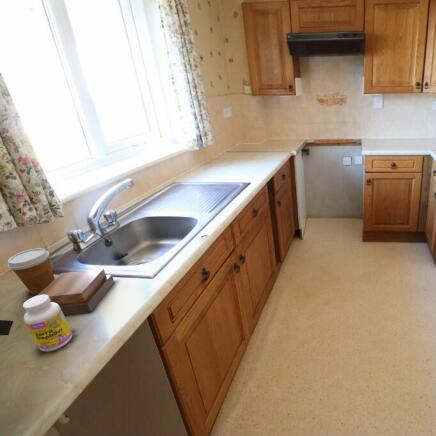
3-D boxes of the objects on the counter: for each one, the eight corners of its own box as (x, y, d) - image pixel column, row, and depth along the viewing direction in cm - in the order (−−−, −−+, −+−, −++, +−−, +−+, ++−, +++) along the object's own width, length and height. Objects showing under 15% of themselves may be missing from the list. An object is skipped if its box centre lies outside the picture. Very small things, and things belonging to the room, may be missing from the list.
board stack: (36, 318, 88) (27, 301, 85) (67, 287, 100) (59, 271, 98) (91, 312, 89) (83, 294, 87) (114, 282, 102) (108, 266, 99)
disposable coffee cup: (18, 301, 95) (-1, 267, 90) (30, 284, 103) (13, 252, 98) (57, 292, 98) (41, 259, 93) (66, 276, 106) (51, 244, 101)
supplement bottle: (39, 357, 75) (14, 314, 70) (41, 340, 80) (18, 299, 75) (73, 343, 79) (52, 302, 73) (73, 328, 84) (54, 288, 78)
